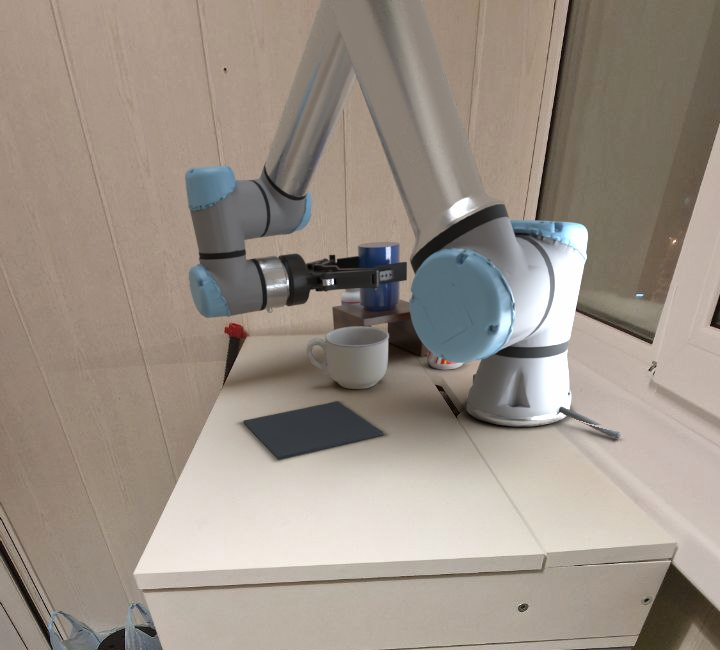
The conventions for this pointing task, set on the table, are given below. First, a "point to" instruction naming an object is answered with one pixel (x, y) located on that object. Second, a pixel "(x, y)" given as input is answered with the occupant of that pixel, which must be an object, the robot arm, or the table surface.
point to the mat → (311, 429)
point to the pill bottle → (350, 296)
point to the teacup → (353, 355)
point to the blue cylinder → (385, 293)
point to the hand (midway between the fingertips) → (386, 267)
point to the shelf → (396, 318)
